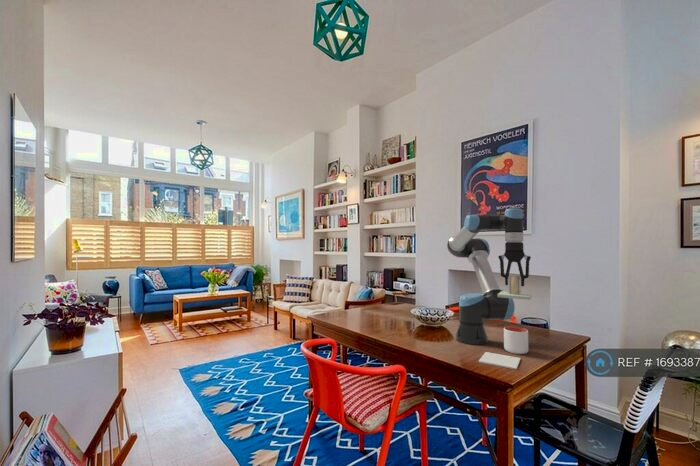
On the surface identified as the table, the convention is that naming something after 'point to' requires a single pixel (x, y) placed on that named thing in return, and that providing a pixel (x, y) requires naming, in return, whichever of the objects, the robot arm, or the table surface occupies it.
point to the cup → (516, 340)
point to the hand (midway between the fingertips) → (514, 292)
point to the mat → (500, 360)
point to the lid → (514, 290)
